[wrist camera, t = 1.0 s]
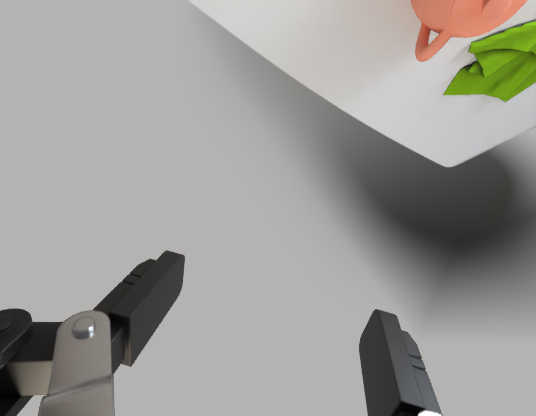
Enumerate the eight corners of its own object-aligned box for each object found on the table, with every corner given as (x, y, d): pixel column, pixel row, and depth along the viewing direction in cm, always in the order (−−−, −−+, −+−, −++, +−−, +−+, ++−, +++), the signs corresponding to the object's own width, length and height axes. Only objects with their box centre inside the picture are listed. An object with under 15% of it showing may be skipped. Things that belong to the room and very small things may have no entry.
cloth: (605, 42, 51) (613, 51, 50) (474, 119, 67) (477, 127, 66) (565, -32, 41) (573, -24, 40) (423, 79, 58) (426, 87, 57)
